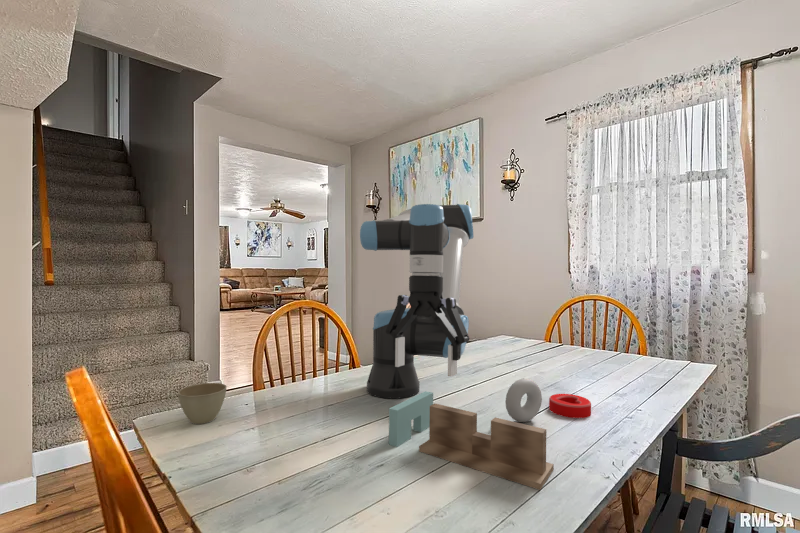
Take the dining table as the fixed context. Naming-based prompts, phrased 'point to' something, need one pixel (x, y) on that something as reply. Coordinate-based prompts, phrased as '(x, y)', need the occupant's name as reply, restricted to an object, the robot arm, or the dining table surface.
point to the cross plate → (409, 417)
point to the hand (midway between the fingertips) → (424, 370)
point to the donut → (516, 395)
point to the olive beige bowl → (202, 401)
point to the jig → (489, 446)
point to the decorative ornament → (570, 405)
